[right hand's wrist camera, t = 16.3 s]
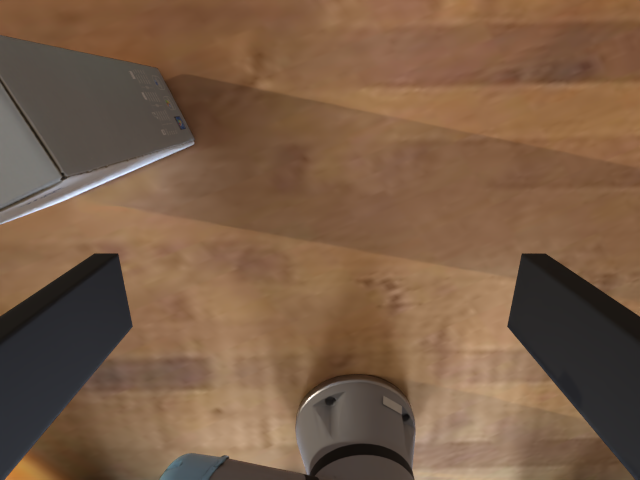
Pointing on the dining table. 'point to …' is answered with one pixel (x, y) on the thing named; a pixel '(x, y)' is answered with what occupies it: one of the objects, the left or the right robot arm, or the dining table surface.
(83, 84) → the hard drive box
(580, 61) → the dining table surface
